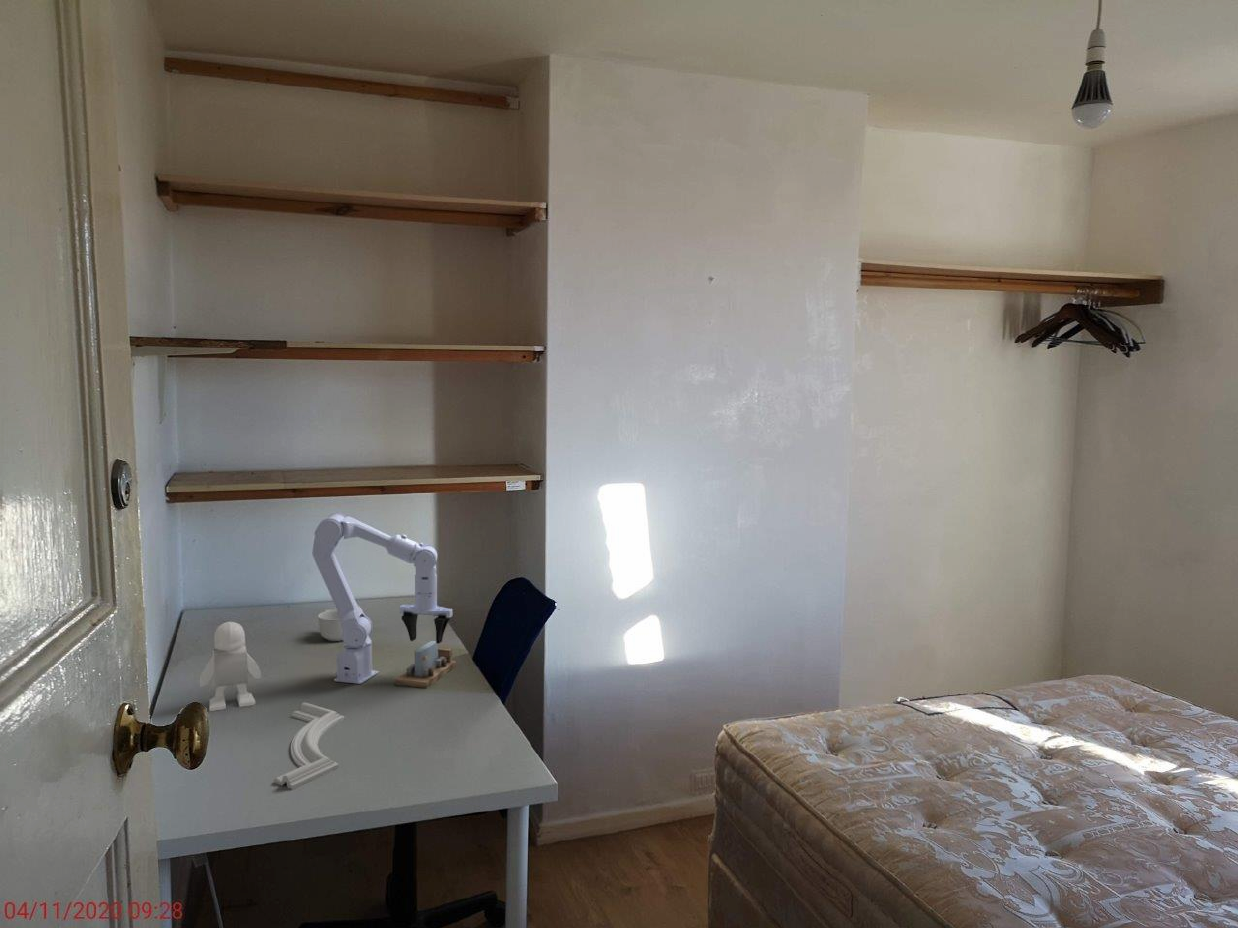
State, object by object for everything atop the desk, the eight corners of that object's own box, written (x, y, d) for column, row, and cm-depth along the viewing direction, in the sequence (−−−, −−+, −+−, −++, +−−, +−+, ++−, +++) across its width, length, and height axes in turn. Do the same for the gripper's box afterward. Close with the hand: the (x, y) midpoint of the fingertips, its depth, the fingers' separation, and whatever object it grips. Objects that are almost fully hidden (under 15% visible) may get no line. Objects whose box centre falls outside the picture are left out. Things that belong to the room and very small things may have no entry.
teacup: (359, 640, 267) (359, 614, 266) (323, 645, 261) (322, 619, 260) (347, 629, 279) (347, 604, 278) (312, 633, 273) (311, 608, 272)
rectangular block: (424, 676, 232) (424, 652, 231) (414, 675, 232) (414, 651, 232) (440, 664, 241) (440, 641, 241) (431, 663, 242) (431, 640, 241)
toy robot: (200, 712, 209) (198, 630, 207) (199, 700, 216) (197, 620, 215) (263, 703, 215) (261, 623, 213) (260, 691, 223) (258, 614, 221)
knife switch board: (427, 687, 227) (426, 669, 227) (395, 684, 229) (395, 666, 229) (455, 666, 245) (455, 648, 244) (426, 663, 247) (426, 645, 246)
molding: (293, 713, 211) (292, 701, 210) (346, 708, 214) (345, 697, 214) (271, 794, 170) (270, 779, 170) (337, 787, 173) (336, 773, 173)
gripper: (457, 590, 237) (457, 639, 238) (408, 586, 240) (408, 634, 242) (446, 596, 230) (446, 646, 232) (395, 592, 234) (396, 641, 235)
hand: (426, 641), depth 236 cm, fingers open, 7 cm apart
